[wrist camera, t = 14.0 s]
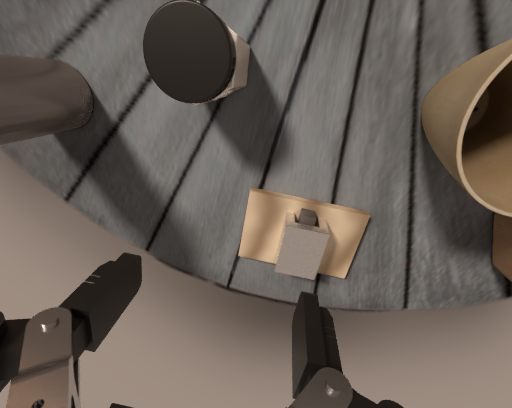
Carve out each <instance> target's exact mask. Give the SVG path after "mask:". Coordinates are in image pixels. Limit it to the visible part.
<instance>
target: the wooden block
mask: <svg viewBox="0 0 512 408" xmlns="http://www.w3.org/2000/svg"><path fill="white" fill-rule="evenodd" d="M492 262H493V265H494V266H495V267H496V268H497V269H498V270H499V271H500V272H501V273H502V274H503V275H504V276H505V277H507V278H508V279H509V280H510V281H511V282H512V217H509V216H505V215H501V214H499V213H495V214H494V224H493V247H492Z"/></svg>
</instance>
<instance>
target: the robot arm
mask: <svg viewBox="0 0 512 408" xmlns="http://www.w3.org/2000/svg"><path fill="white" fill-rule="evenodd" d="M92 111H93V99H92V94H91V91H90V89H89V86H88V85H87V83H86V81H85V79H84V78H83V77H82V76H81V74H80V73H79V72H78V71H77V70H76V69H75V68H73V67H72V66H70V65H69V64H67V63H65V62H63V61H60V60H54V59H44V58H33V57H23V56H11V55H0V145H4V144H9V143H13V142H18V141H22V140H27V139H31V138H35V137H40V136H44V135H49V134H53V133H58V132H62V131H67V130H71V129H75V128H79V127H82V126H83V125H85V124H86V123H87V122H88V121H89V119H90V117H91V115H92ZM141 281H142V267H141V256H139V255H134V254H129V253H123V254H122V255H121V256H120V257H119V258H118V259H117V260H116V261H109V262H107V263H105V264H103V265H101V266H99V267H98V268H97V269H96V270H95V271H94V272H93V273H92V275H91V276H89V277H88V278H87V279H86V280H85V282H83V283H82V284H81V285H80V286H79V287H78V288H77V289H76V290H75V291H74V292H73V293H72V294H71V295H70V296H69V297H68V298H67V299H66V300H65V301H64V302H63V303H62V304H61V305H60V306H59V307H55V308H50V309H46V310H43V311H41V312H39V313H38V314H36V315H35V316H33V317H32V318H31V319H17V320H5V318H4V315H3V313H2V312H0V392H1V391H2V389H3V388H4V387H5V386H6V385H7V384H8V382H9V381H10V380H11V379H12V380H11V384H10V389H9V394H8V400H7V406H6V408H81V407H80V367H79V357H80V356H81V354H82V353H83V352H84V350H88V351H92V352H95V351H96V349H97V348H98V346H99V345H100V344H101V342H102V341H103V340H104V338H105V337H106V335H107V334H108V333H109V331H110V330H111V328H112V327H113V325H114V324H115V323H116V321H117V320H118V319H119V317H120V316H121V314H122V313H123V312H124V310H125V309H126V307H127V306H128V305H129V303H130V302H131V300H132V299H133V297H134V296H135V295H136V294H137V292H138V290H139V288H140V285H141ZM292 368H293V369H292V371H293V372H292V373H293V374H292V379H293V398H294V399H295V400H294V402H293V403H292V404H291V405H290V406H289V407H288V408H403V407H402V406H401V405H399V404H398V403H396V402H394V401H391V400H382V401H381V402H379V403H378V404H376V403H374V402H373V401H371V400H369V399H367V398H365V397H364V396H362V395H360V394H359V393H357V392H356V391H355V390H354V389H353V388H352V387H351V385H350V383H349V381H348V379H347V378H346V377H345V376H344V375H343V372H342V367H341V361H340V356H339V350H338V345H337V339H336V334H335V330H334V323H333V318H332V316H331V315H330V313H329V311H328V310H327V308H323V307H319V302H318V296H317V295H316V294H312V293H307V292H301V294H300V297H299V300H298V303H297V306H296V309H295V312H294V315H293V321H292ZM110 408H132V407H128V406H124V405H119V404H115V403H112V404H111V406H110Z"/></svg>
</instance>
